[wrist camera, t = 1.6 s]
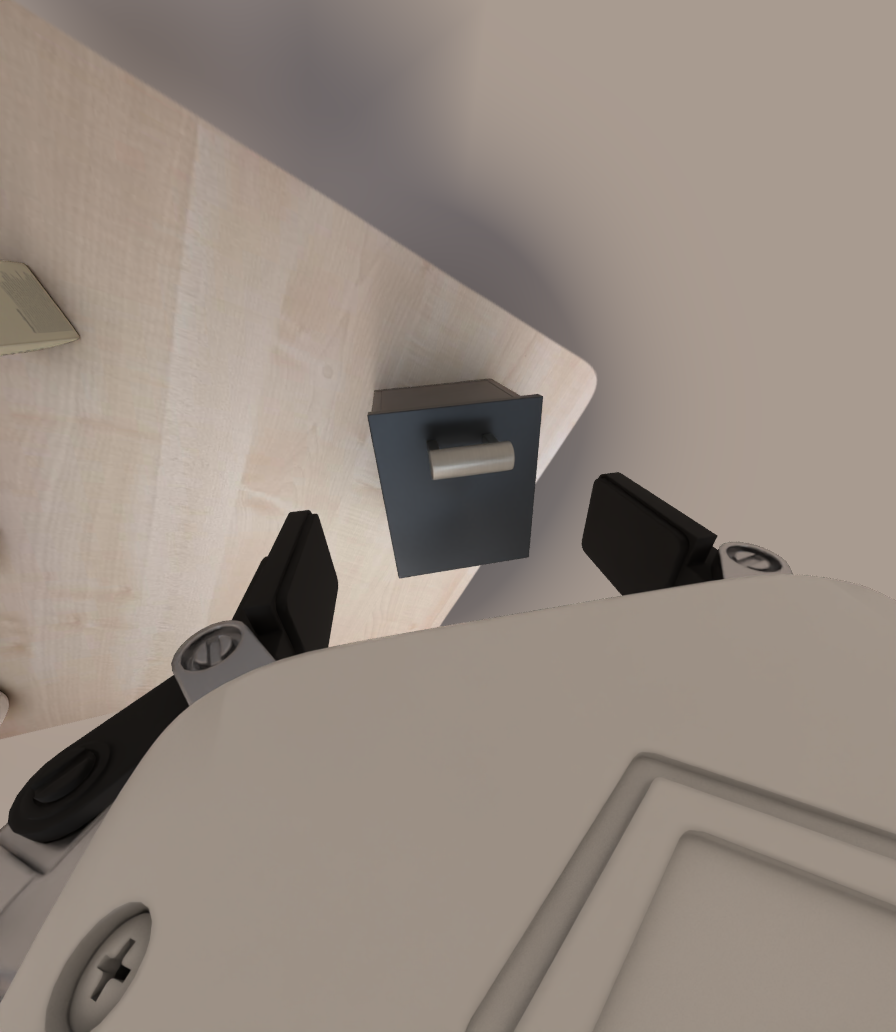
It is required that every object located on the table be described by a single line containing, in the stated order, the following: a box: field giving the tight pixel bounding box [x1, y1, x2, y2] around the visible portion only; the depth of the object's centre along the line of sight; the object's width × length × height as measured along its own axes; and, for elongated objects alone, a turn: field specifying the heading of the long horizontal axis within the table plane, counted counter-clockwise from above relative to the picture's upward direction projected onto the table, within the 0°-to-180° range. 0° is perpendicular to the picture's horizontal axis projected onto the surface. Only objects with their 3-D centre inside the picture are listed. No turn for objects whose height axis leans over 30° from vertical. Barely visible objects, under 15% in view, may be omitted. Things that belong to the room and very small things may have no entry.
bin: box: [372, 379, 520, 412], centre depth 31 cm, size 13×12×12 cm
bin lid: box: [368, 394, 543, 578], centre depth 24 cm, size 14×12×5 cm
